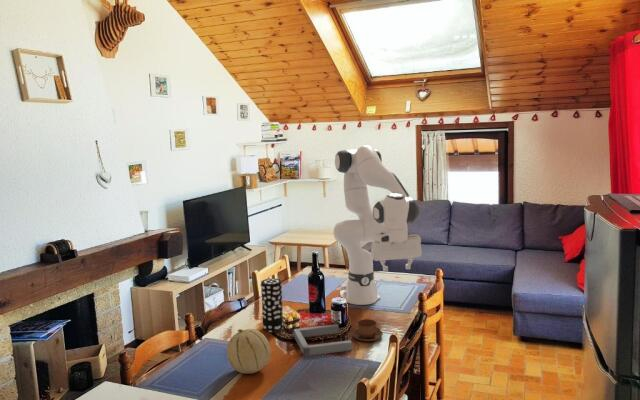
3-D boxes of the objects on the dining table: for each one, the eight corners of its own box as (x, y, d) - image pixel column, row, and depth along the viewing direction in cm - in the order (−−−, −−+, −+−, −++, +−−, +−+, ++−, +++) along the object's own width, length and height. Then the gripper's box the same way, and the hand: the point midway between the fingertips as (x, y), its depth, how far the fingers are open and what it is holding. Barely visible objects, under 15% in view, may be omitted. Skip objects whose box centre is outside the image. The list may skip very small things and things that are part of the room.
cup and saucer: (385, 333, 210) (385, 318, 209) (378, 345, 199) (378, 330, 198) (356, 330, 214) (356, 316, 213) (348, 342, 202) (348, 326, 202)
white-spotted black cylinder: (280, 332, 213) (278, 284, 210) (260, 331, 214) (258, 284, 212) (285, 325, 221) (283, 278, 218) (266, 324, 222) (264, 278, 220)
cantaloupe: (273, 378, 174) (272, 335, 172) (228, 384, 171) (226, 340, 169) (268, 359, 188) (266, 319, 186) (226, 364, 185) (224, 323, 183)
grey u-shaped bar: (293, 336, 209) (293, 329, 208) (337, 331, 213) (337, 324, 212) (304, 356, 190) (304, 348, 190) (351, 350, 195) (351, 342, 194)
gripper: (417, 232, 211) (417, 266, 212) (369, 235, 206) (369, 270, 207) (424, 234, 205) (424, 269, 206) (374, 238, 200) (375, 274, 201)
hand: (396, 270), depth 207 cm, fingers open, 8 cm apart
